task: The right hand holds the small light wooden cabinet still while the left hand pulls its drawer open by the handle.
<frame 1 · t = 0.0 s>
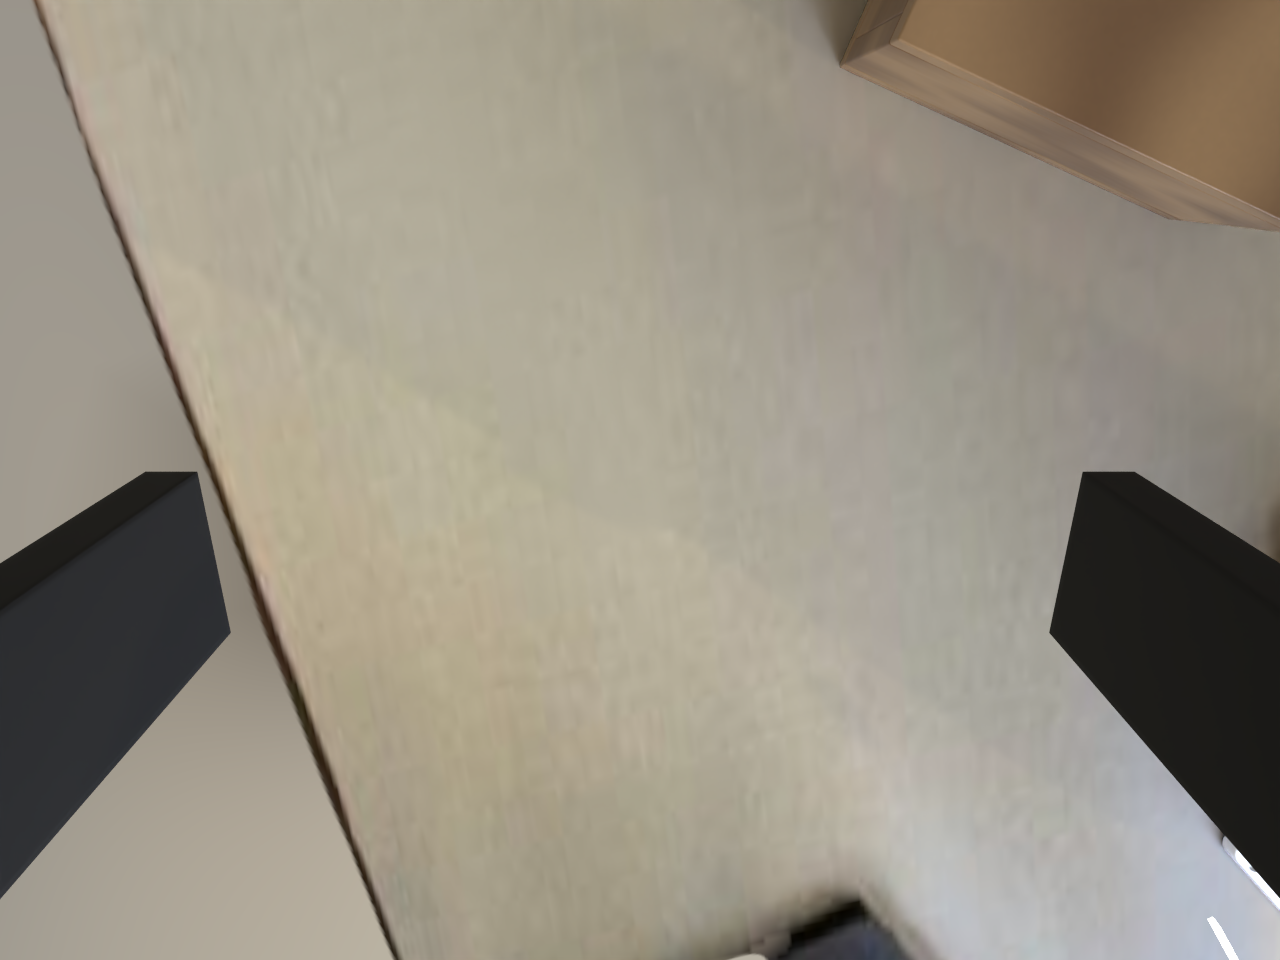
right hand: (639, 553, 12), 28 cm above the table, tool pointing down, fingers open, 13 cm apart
cabinet: (1079, 10, 34), on the table
drawer: (1265, 55, 31), point 4 cm above the table, slide at 1.0 cm
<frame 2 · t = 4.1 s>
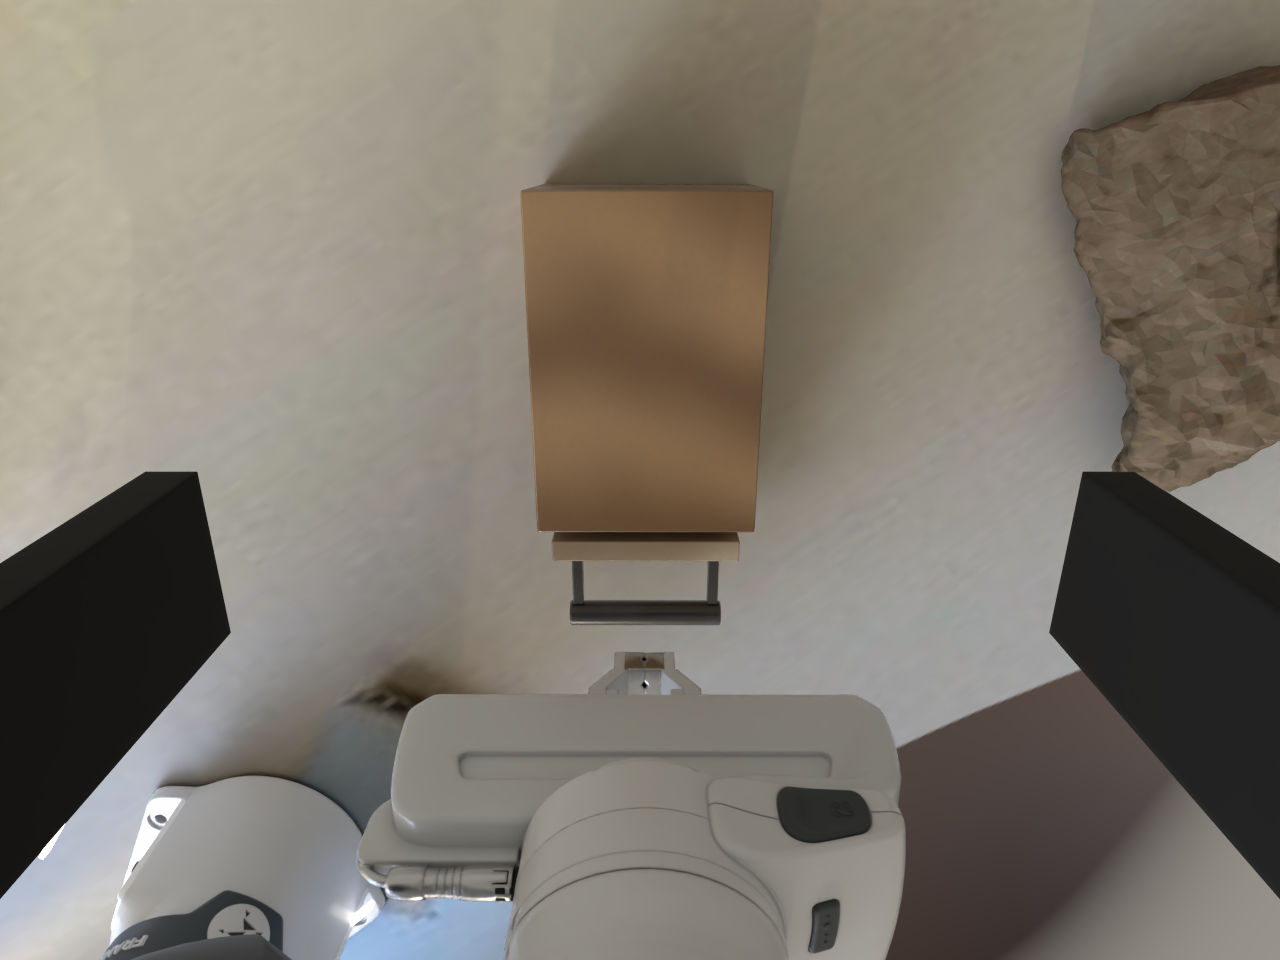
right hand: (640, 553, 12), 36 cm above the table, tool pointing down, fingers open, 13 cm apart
stone: (1191, 279, 46), on the table
cabinet: (645, 338, 48), on the table
drawer: (645, 456, 46), point 4 cm above the table, slide at 1.0 cm
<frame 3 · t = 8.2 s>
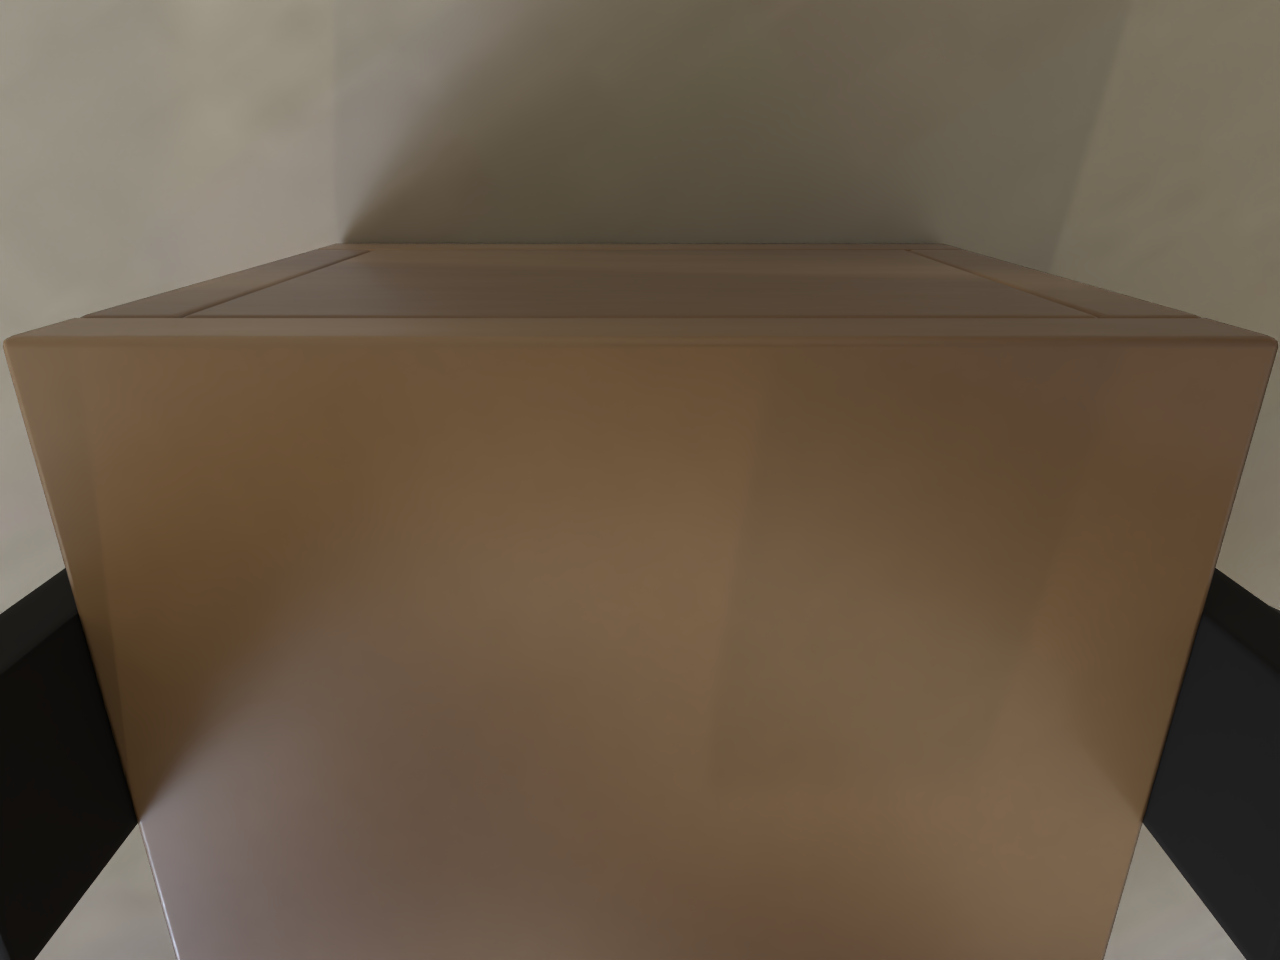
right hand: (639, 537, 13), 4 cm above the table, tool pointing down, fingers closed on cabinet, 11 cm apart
cabinet: (639, 635, 18), on the table, touching right hand
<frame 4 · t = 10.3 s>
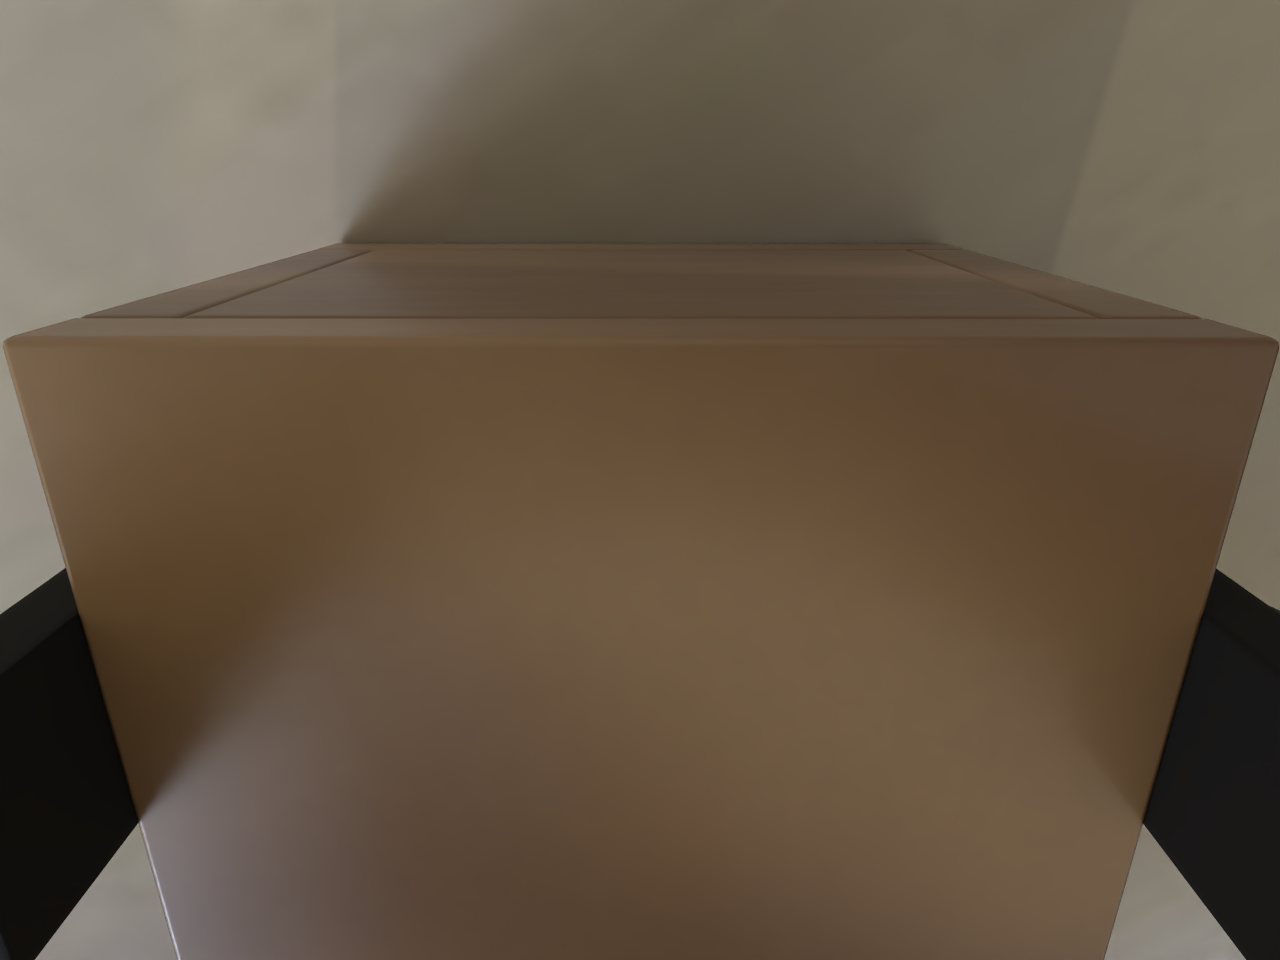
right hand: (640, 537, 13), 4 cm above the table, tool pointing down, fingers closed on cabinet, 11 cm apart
cabinet: (640, 635, 18), on the table, touching right hand
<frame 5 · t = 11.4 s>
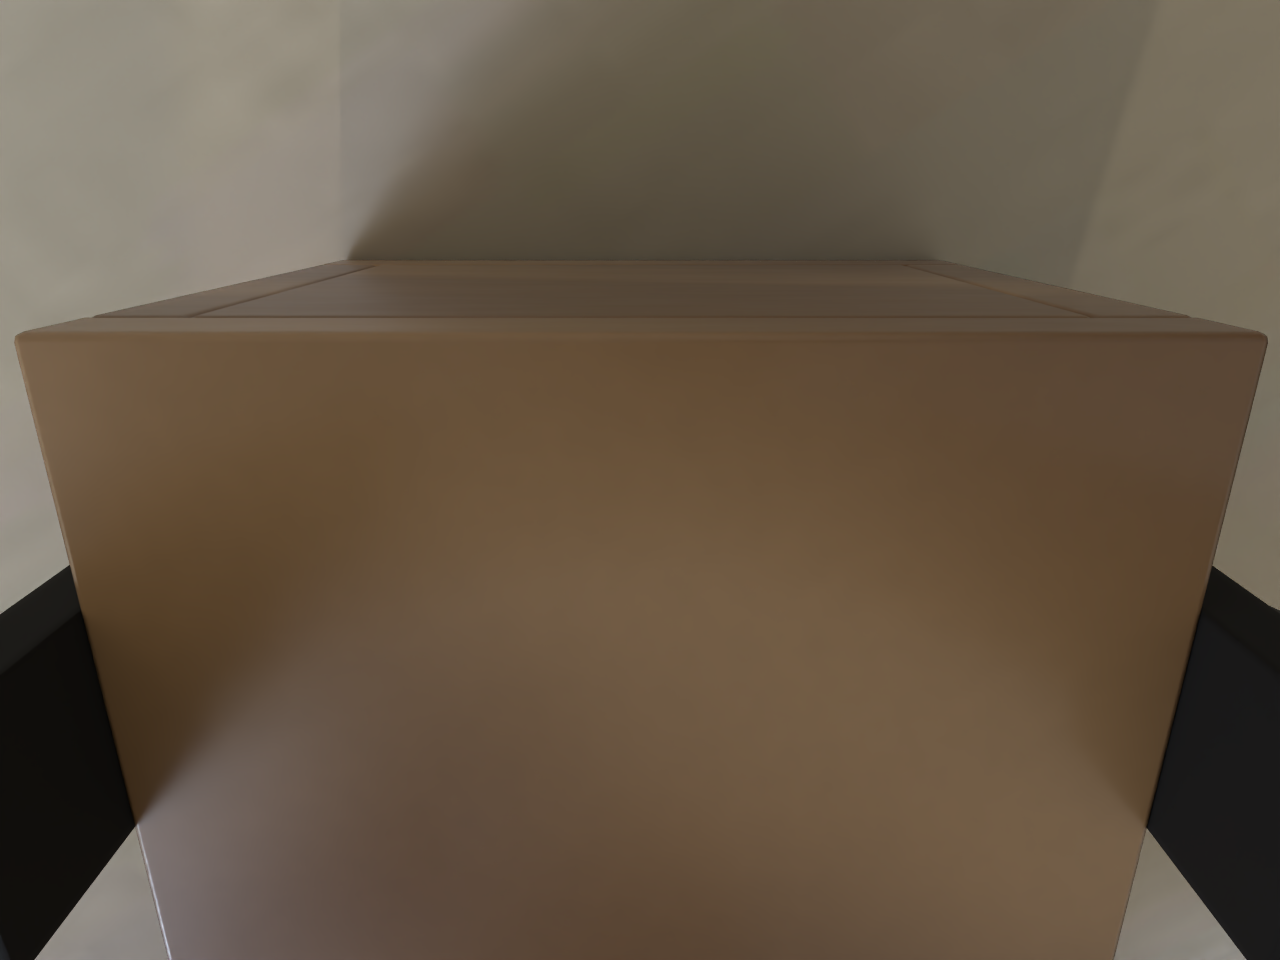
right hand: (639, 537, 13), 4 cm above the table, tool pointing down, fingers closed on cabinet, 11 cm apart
cabinet: (640, 652, 18), on the table, touching right hand
when the right hand's fingers open (4 cm above the table, at t = 12.8 s): cabinet stays where it is, on the table.
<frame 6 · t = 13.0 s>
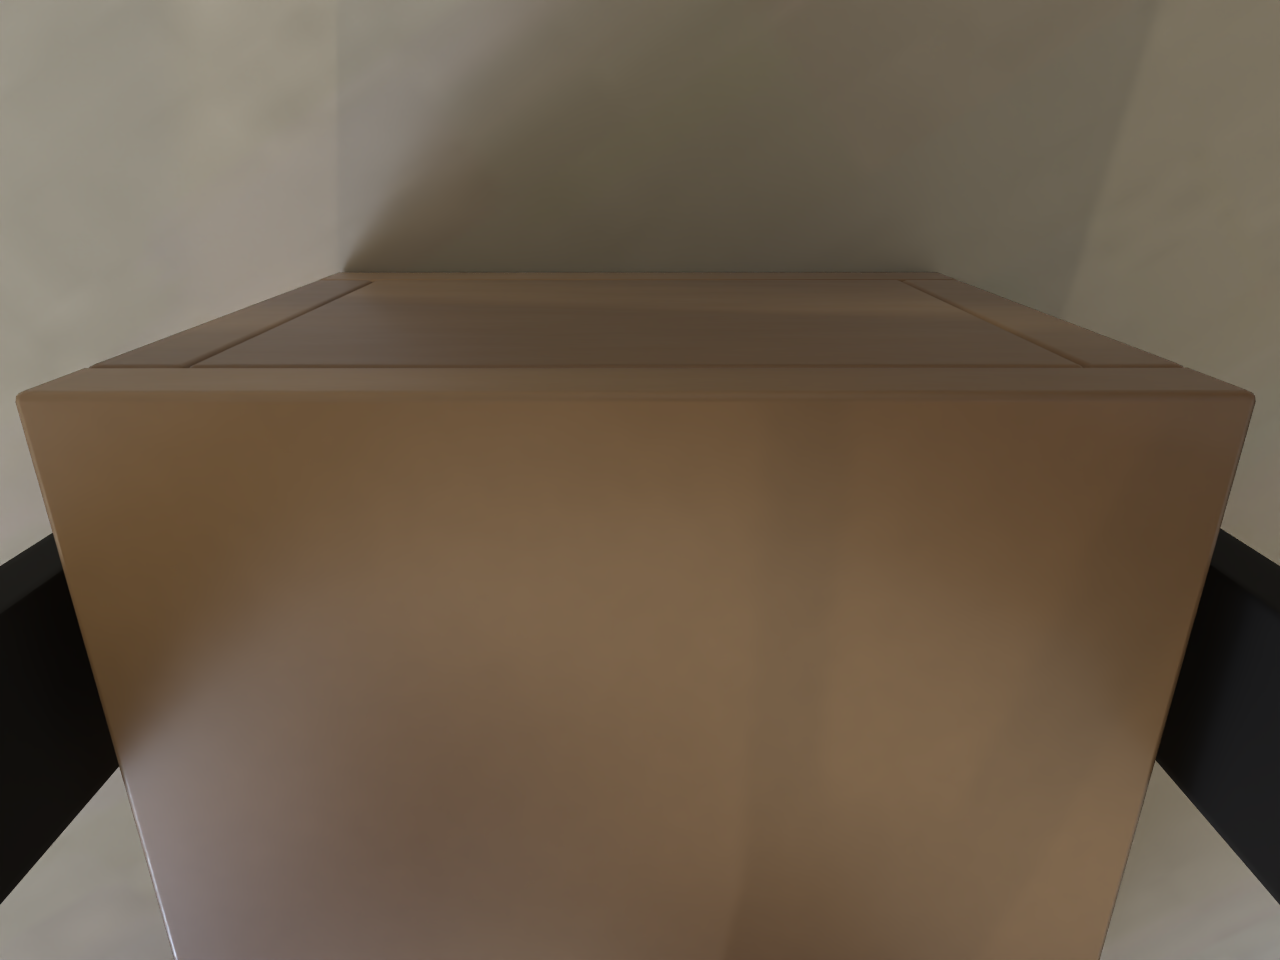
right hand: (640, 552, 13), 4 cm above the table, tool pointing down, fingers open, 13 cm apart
cabinet: (638, 655, 18), on the table
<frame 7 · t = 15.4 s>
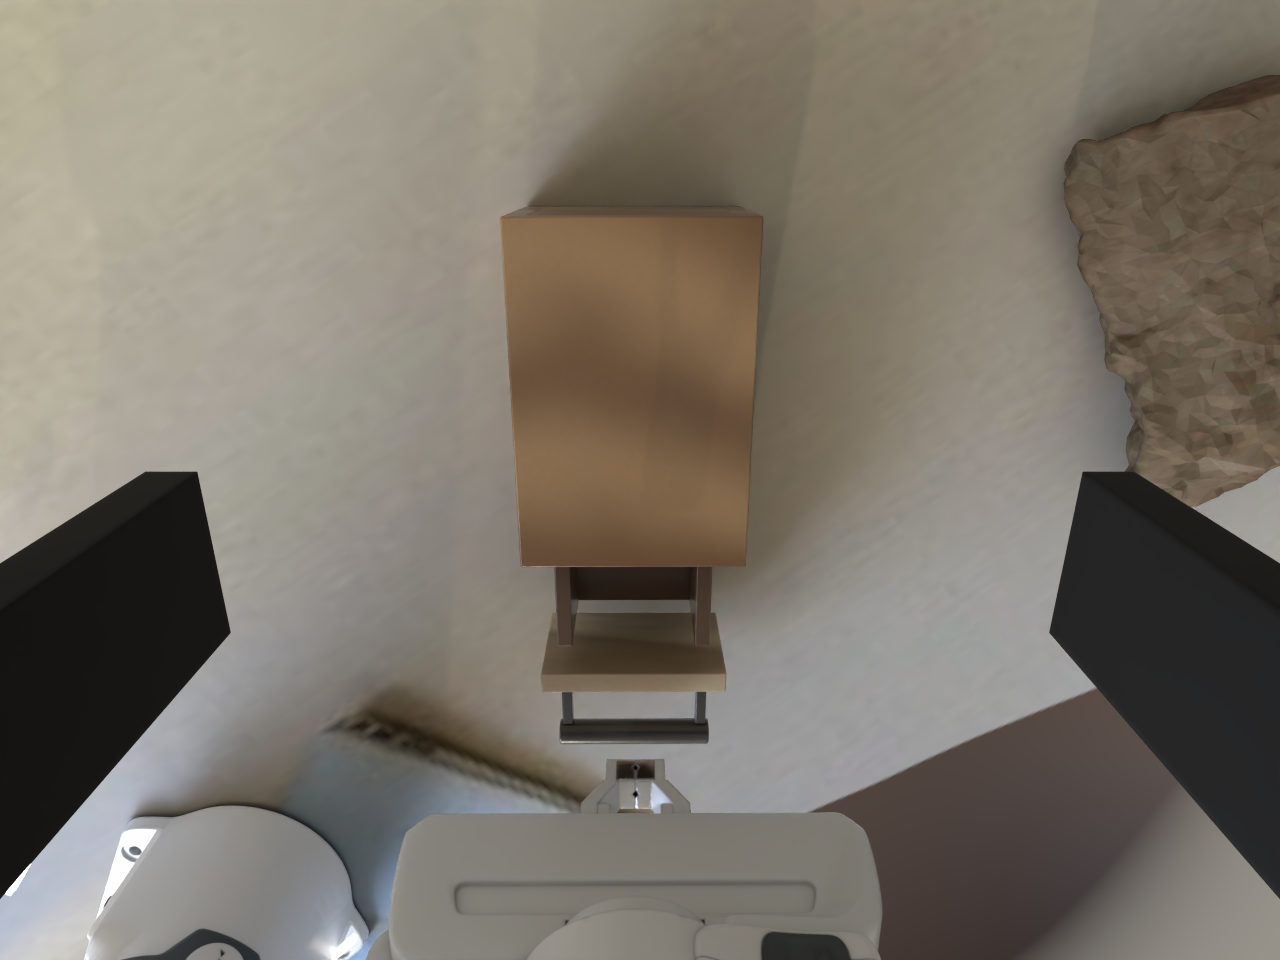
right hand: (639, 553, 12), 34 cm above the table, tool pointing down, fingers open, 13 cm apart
left hand: (635, 769, 42), fingers closed
stone: (1197, 293, 45), on the table
cabinet: (633, 363, 46), on the table
drawer: (633, 585, 46), point 4 cm above the table, slide at 7.0 cm
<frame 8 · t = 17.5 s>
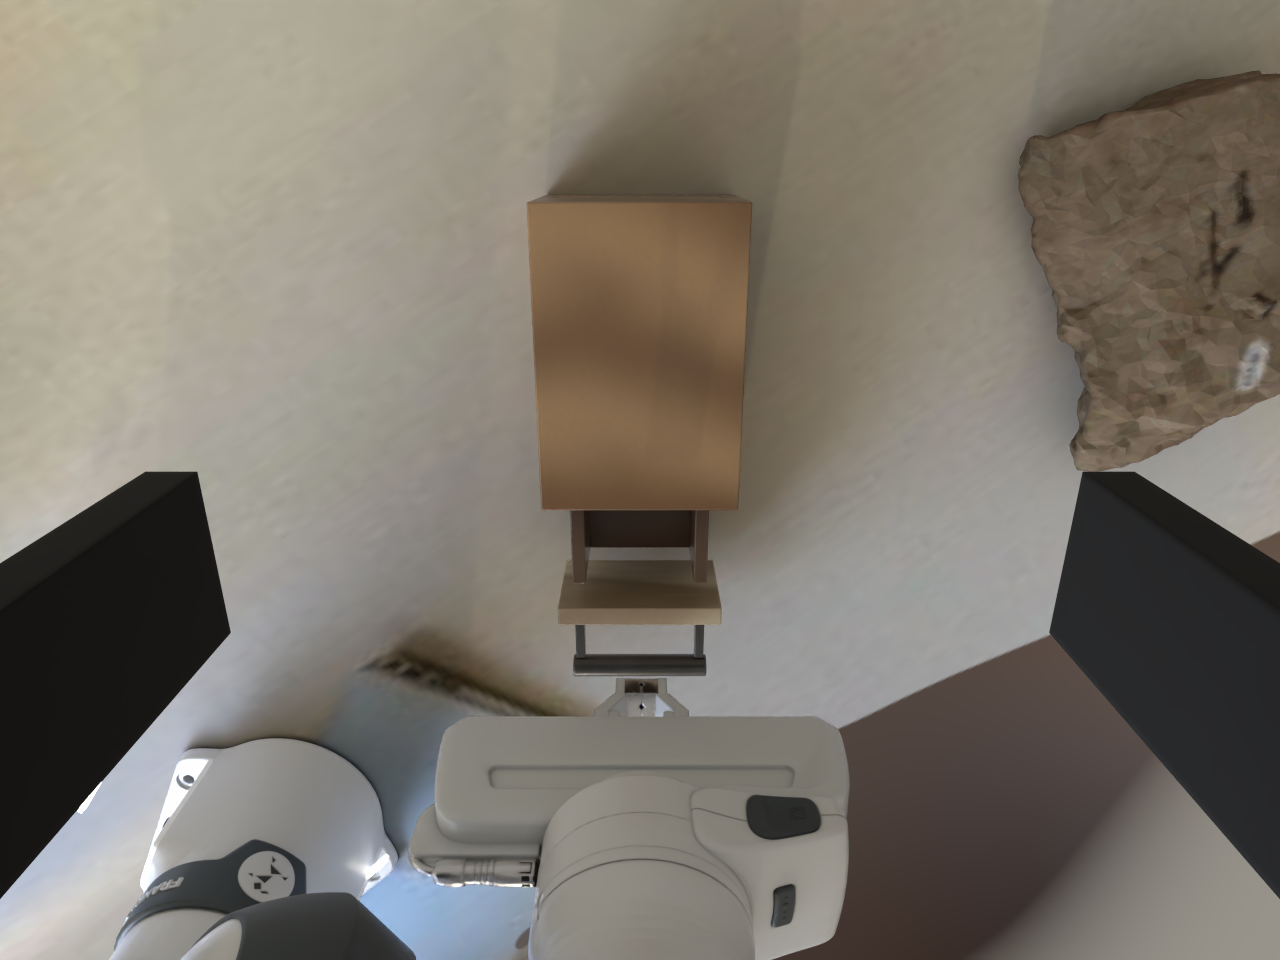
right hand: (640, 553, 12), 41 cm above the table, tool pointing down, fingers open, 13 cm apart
stone: (1140, 272, 51), on the table
cabinet: (639, 335, 52), on the table
drawer: (639, 531, 52), point 4 cm above the table, slide at 7.0 cm
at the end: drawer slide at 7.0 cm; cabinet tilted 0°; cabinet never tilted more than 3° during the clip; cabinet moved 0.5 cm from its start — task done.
